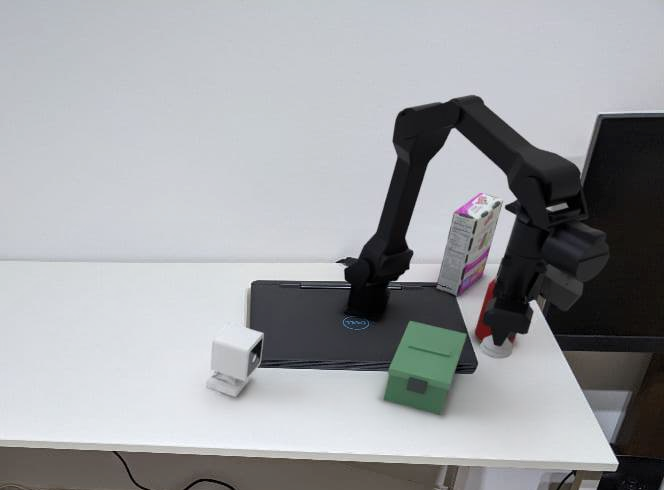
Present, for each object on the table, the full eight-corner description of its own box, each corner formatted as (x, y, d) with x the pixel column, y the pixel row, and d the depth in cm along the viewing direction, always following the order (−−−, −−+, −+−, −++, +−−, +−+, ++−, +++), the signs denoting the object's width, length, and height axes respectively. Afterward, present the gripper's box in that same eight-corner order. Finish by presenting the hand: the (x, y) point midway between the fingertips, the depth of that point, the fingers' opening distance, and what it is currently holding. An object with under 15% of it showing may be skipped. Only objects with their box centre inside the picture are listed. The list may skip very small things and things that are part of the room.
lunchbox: (381, 401, 138) (388, 367, 133) (403, 349, 149) (410, 317, 145) (440, 417, 134) (450, 383, 130) (458, 363, 146) (468, 330, 141)
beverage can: (516, 352, 148) (536, 292, 141) (475, 348, 149) (493, 288, 142) (510, 331, 153) (529, 272, 146) (471, 327, 154) (488, 269, 147)
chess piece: (487, 360, 130) (501, 315, 126) (474, 342, 134) (487, 299, 129) (516, 358, 131) (531, 314, 126) (503, 341, 134) (517, 297, 129)
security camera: (242, 401, 138) (247, 350, 132) (204, 388, 141) (207, 337, 135) (259, 381, 142) (264, 331, 136) (221, 368, 145) (225, 319, 139)
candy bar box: (459, 267, 172) (480, 191, 161) (483, 276, 169) (505, 198, 159) (433, 288, 165) (453, 210, 155) (457, 297, 163) (479, 218, 152)
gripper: (584, 292, 112) (548, 386, 122) (593, 233, 125) (560, 323, 135) (496, 273, 116) (468, 366, 126) (513, 218, 129) (487, 306, 139)
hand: (499, 339), depth 131 cm, fingers closed on chess piece, 3 cm apart
